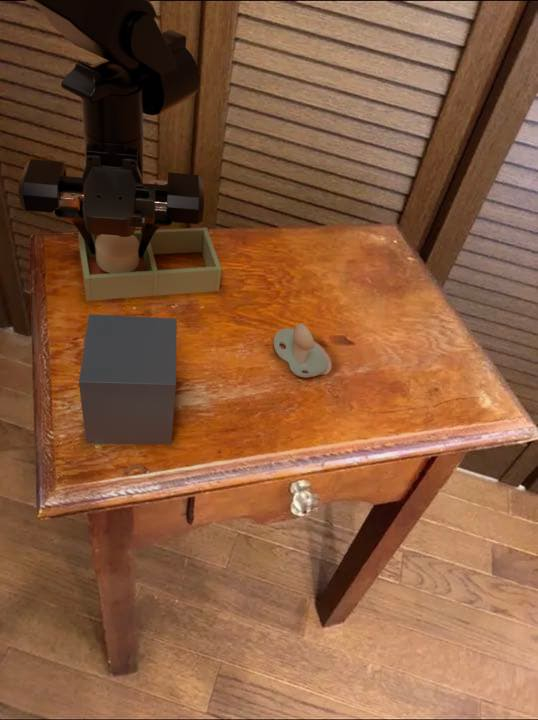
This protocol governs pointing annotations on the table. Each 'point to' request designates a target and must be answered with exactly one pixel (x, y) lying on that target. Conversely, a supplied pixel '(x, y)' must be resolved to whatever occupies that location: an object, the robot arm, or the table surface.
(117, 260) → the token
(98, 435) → the stand
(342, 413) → the table surface
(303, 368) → the pacifier
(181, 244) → the olive green divided tray
